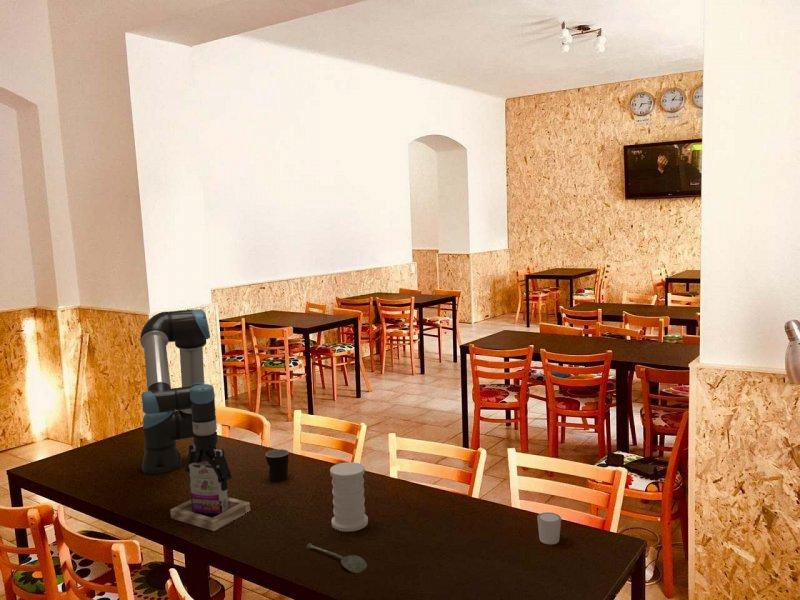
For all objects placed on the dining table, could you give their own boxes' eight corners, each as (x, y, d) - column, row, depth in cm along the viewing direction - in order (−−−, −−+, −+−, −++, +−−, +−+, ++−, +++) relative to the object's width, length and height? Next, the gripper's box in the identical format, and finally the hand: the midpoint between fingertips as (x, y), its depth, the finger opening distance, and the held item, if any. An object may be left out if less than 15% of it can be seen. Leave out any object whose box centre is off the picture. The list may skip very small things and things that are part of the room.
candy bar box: (229, 508, 219) (226, 461, 218) (222, 515, 215) (218, 466, 213) (199, 506, 222) (195, 459, 220) (191, 512, 217) (187, 464, 215)
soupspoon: (355, 579, 178) (371, 570, 183) (355, 567, 177) (372, 558, 183) (300, 552, 192) (317, 544, 197) (300, 541, 191) (317, 533, 196)
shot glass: (556, 547, 189) (556, 524, 188) (534, 542, 193) (533, 519, 192) (564, 537, 195) (564, 514, 194) (542, 532, 198) (542, 510, 198)
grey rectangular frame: (171, 518, 217) (170, 509, 217) (208, 499, 230) (207, 491, 230) (214, 531, 207) (213, 522, 206) (250, 511, 220) (249, 502, 220)
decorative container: (334, 534, 202) (332, 477, 200) (328, 518, 213) (326, 464, 211) (371, 528, 205) (369, 472, 203) (363, 512, 216) (361, 459, 214)
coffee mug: (287, 483, 243) (286, 457, 242) (264, 483, 243) (263, 457, 242) (293, 471, 254) (292, 446, 253) (271, 471, 255) (269, 446, 253)
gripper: (170, 430, 218) (175, 493, 221) (222, 441, 206) (227, 507, 208) (188, 424, 225) (193, 485, 227) (240, 434, 212) (244, 498, 215)
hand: (209, 495), depth 218 cm, fingers closed on candy bar box, 12 cm apart
